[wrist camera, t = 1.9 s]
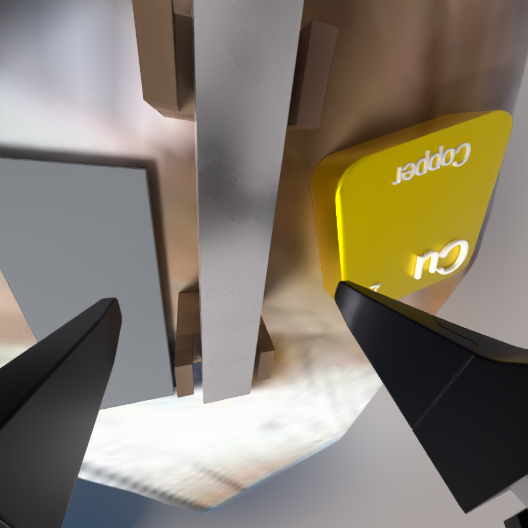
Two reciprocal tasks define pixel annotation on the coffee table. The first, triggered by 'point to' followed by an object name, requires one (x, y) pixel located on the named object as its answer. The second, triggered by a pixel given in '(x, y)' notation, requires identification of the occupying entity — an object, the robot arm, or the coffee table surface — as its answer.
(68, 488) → the robot arm
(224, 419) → the coffee table surface
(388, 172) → the element tile
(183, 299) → the hook posts
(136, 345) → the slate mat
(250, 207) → the steel rail
